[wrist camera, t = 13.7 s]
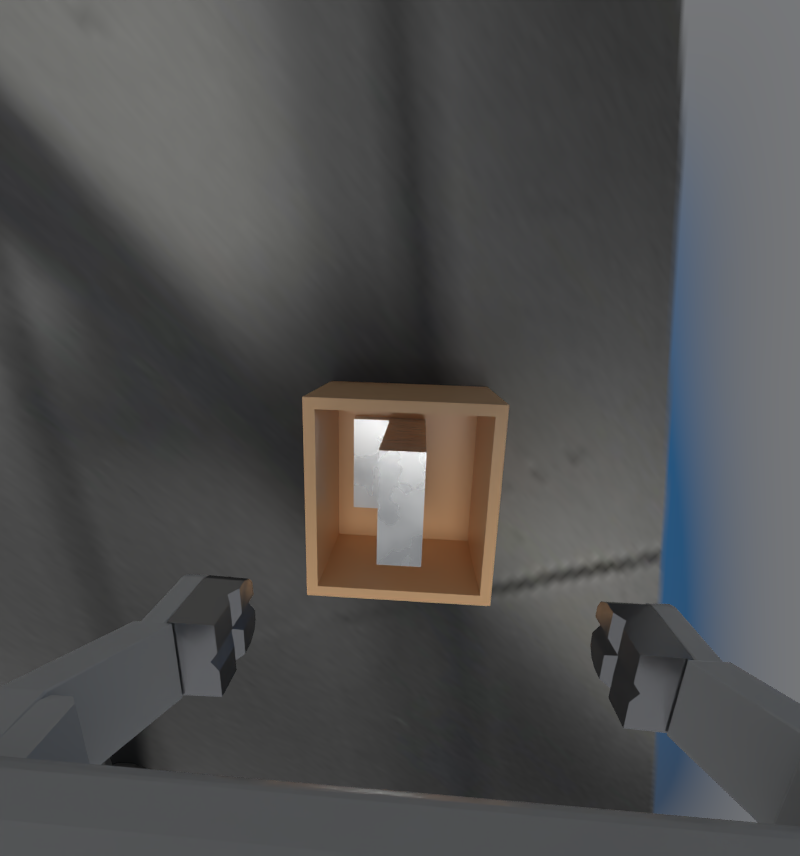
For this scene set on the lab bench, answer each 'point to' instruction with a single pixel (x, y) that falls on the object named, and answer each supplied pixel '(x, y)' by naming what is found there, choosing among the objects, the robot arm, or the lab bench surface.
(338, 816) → the robot arm
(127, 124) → the lab bench surface
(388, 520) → the aluminium bracket
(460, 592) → the open box
